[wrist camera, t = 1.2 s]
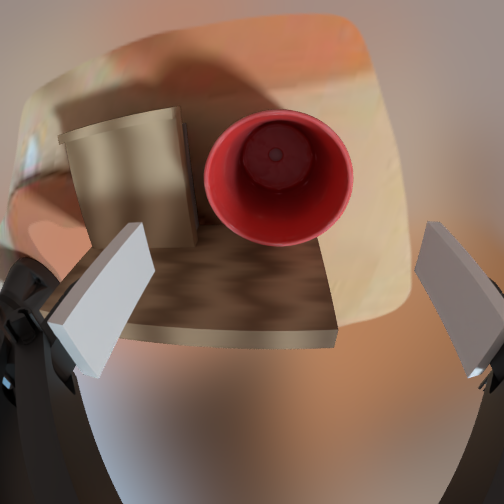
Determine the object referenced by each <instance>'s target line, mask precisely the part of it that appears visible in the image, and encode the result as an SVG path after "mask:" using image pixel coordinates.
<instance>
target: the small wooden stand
mask: <svg viewBox="0 0 504 504" xmlns="http://www.w3.org/2000/svg"><path fill="white" fill-rule="evenodd" d="M58 141H59V145H60V144H63V143H65V146H66V151H67V156H68V161H69V165H70V170H71V174H72V179H73V183H74V187H75V191H76V194H77V198H78V202H79V205H80V209H81V212H82V216H83V219H84V222H85V226H86V229H87V232H88V235H89V238H90V241H91V244H92V247H93V249H105V248H106V247H107V246H108V245H109V243H110V242H111V241H112V240H113V239H114V238H115V237H116V236H117V235H118V233H119V232H120V231H121V230H122V229H123V228H124V227H125V226H126V225H127V224H128V223H135V222H142V224H143V228H144V232H145V236H146V240H147V244H148V247H149V248H180V247H195V245H196V243H197V241H198V237H197V229H198V227H199V221H198V214H197V207H196V200H195V193H194V186H193V178H192V171H191V163H190V154H189V146H188V137H187V128H186V123H183V124H182V119H181V109H180V106H176V107H170V108H164V109H158V110H153V111H147V112H142V113H138V114H133V115H128V116H124V117H120V118H115V119H111V120H107V121H104V122H100V123H96V124H93V125H89V126H86V127H82V128H79V129H76V130H72V131H69V132H67V133H64V134H61V135H58Z"/></svg>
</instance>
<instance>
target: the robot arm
mask: <svg viewBox="0 0 504 504" xmlns="http://www.w3.org/2000/svg"><path fill="white" fill-rule="evenodd" d="M414 271H415V273H416V274H417V276H418V278H419V279H420V281H421V283H422V285H423V286H424V288H425V290H426V292H427V294H428V295H429V297H430V299H431V301H432V303H433V305H434V306H435V308H436V310H437V312H438V314H439V316H440V318H441V320H442V322H443V324H444V326H445V328H446V330H447V332H448V334H449V336H450V338H451V341H452V343H453V345H454V347H455V349H456V351H457V354H458V356H459V358H460V361H461V363H462V365H463V368H464V370H465V373H466V375H467V378H470V377H473V376H477V375H480V374H482V373H483V372H484V370H485V369H486V368H487V366H488V365H489V364H490V365H491V367H492V371H491V372H490V373H489V374H488V376H487V377H486V378H485V379H484V380H483V382H482V383H481V384H480V386H479V389H481V388H482V387H483V385H484V384H486V387H485V389H484V390H483V391H484V395H483V399H482V402H481V405H480V409H479V412H478V415H477V418H476V421H475V425H474V427H473V430H472V433H471V436H470V438H469V441H468V443H467V446H466V448H465V451H464V453H463V456H462V458H461V460H460V463H459V465H458V467H457V469H456V471H455V474H454V476H453V478H452V480H451V482H450V484H449V485H448V487H447V489H446V491H445V493H444V495H443V497H442V498H441V500H440V502H439V504H504V294H502V291H501V290H500V288H499V287H498V285H497V284H496V283H495V282H494V281H492V280H491V279H490V278H489V277H487V275H486V274H485V273H484V272H483V270H482V269H481V268H480V267H479V265H478V264H477V263H476V262H475V261H474V259H473V258H472V257H471V256H470V255H469V253H468V252H467V251H466V250H465V249H464V248H463V246H462V245H461V244H460V243H459V242H458V241H457V240H456V239H455V238H454V236H453V235H452V234H451V233H450V232H449V231H448V230H447V229H446V228H445V227H444V226H443V225H442V224H441V223H440V222H430V221H428V222H427V225H426V229H425V233H424V237H423V241H422V245H421V249H420V253H419V256H418V260H417V263H416V266H415V270H414ZM154 272H155V269H154V266H153V262H152V258H151V255H150V251H149V247H148V244H147V240H146V236H145V232H144V228H143V224H142V222H135V223H128V224H127V225H126V226H125V227H124V228H123V229H122V230H121V231H120V232H119V233H118V235H117V236H116V237H115V238H114V239H113V240H112V241H111V242H110V243H109V245H108V246H107V247H106V248H105V249H104V250H103V251H102V253H101V254H100V255H99V256H98V257H97V258H96V260H95V261H94V262H93V263H92V264H91V265H90V267H89V268H88V269H87V270H86V271H85V273H84V274H83V275H82V276H81V278H79V279H77V280H76V281H75V282H73V283H72V284H71V285H70V286H69V287H68V288H67V290H66V291H65V292H64V295H62V296H61V297H60V299H59V300H58V302H57V303H56V304H55V305H54V307H53V308H52V309H51V311H50V312H49V313H48V315H47V316H46V317H45V319H44V317H43V316H42V314H41V312H40V311H39V310H40V308H41V307H42V306H43V304H44V303H45V302H46V300H47V299H48V298H49V297H50V295H51V294H52V293H53V292H54V290H55V289H56V288H57V287H58V285H59V284H60V283H59V282H58V280H57V279H56V278H55V277H54V275H53V274H52V273H51V272H50V271H49V270H48V269H46V268H45V267H44V266H43V265H41V264H40V263H39V262H37V261H35V260H33V259H30V258H21V259H19V260H18V261H17V262H16V263H15V264H14V265H13V266H12V267H11V269H10V271H9V273H8V275H7V278H6V280H5V282H4V285H3V287H2V289H1V292H0V504H123V503H122V501H121V499H120V497H119V495H118V493H117V491H116V489H115V487H114V485H113V483H112V481H111V478H110V476H109V474H108V472H107V469H106V467H105V465H104V462H103V460H102V457H101V455H100V452H99V450H98V447H97V445H96V442H95V439H94V436H93V433H92V430H91V427H90V424H89V421H88V418H87V415H86V411H85V408H84V405H83V401H82V397H81V393H80V390H79V386H78V382H77V377H76V376H75V373H74V372H73V370H74V368H75V366H76V365H77V367H78V368H79V369H80V371H81V372H82V373H83V375H87V376H91V377H94V378H99V377H100V375H101V373H102V371H103V369H104V367H105V365H106V363H107V360H108V358H109V356H110V354H111V352H112V350H113V348H114V346H115V344H116V342H117V340H118V338H119V336H120V334H121V332H122V330H123V329H124V327H125V325H126V323H127V321H128V319H129V317H130V315H131V313H132V311H133V310H134V308H135V306H136V304H137V302H138V300H139V299H140V297H141V295H142V293H143V291H144V290H145V288H146V286H147V284H148V283H149V281H150V279H151V277H152V276H153V274H154Z"/></svg>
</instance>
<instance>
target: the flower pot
mask: <svg viewBox="0 0 504 504" xmlns="http://www.w3.org/2000/svg"><path fill="white" fill-rule="evenodd" d="M204 187H205V192H206V196H207V199H208V201H209V204H210V205H211V207H212V209H213V211H214V212H215V214H216V215H217V217H218V218H219V219H220V220H221V221H222V223H223V224H224V225H226V226H227V227H228V228H229V229H230V230H232V231H233V232H234V233H236V234H237V235H239V236H241V237H243V238H245V239H247V240H249V241H252V242H255V243H258V244H261V245H267V246H291V245H296V244H300V243H304V242H306V241H309V240H311V239H314V238H316V237H318V236H319V235H321V234H323V233H324V232H325V231H327V230H328V229H329V228H330V227H331V226H332V225H333V224H335V222H336V221H337V220H338V219H339V218H340V217H341V215H342V214H343V212H344V210H345V209H346V206H347V204H348V202H349V199H350V197H351V193H352V187H353V168H352V163H351V159H350V156H349V153H348V151H347V149H346V147H345V145H344V144H343V142H342V140H341V139H340V138H339V136H338V135H337V134H336V133H335V132H334V131H333V130H332V129H331V128H330V127H329V126H327V125H326V124H325V123H323V122H322V121H320V120H319V119H317V118H315V117H313V116H310V115H308V114H305V113H302V112H297V111H293V110H284V109H275V110H265V111H261V112H257V113H254V114H251V115H248V116H246V117H244V118H242V119H240V120H238V121H236V122H235V123H233V124H232V125H231V126H229V127H228V128H227V129H226V130H225V131H224V132H223V133H222V134H221V135H220V136H219V137H218V139H217V140H216V141H215V143H214V145H213V146H212V148H211V150H210V152H209V155H208V157H207V160H206V164H205V168H204Z"/></svg>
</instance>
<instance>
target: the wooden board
mask: <svg viewBox="0 0 504 504" xmlns="http://www.w3.org/2000/svg"><path fill="white" fill-rule="evenodd" d="M197 237H198V241H197V243H196V245H195V247H180V248H149V251H150V255H151V258H152V262H153V266H154V269H155V272H154V274H153V276H152V277H151V279H150V281H149V283H148V284H147V286H146V288H145V290H144V291H143V293H142V295H141V297H140V299H139V300H138V302H137V304H136V306H135V308H134V310H133V311H132V313H131V315H130V317H129V319H128V321H127V323H126V325H125V327H124V329H123V330H122V332H121V334H120V336H119V338H122V339H130V340H137V341H146V342H154V343H163V344H174V345H185V346H199V347H215V348H238V349H240V348H241V349H312V348H313V349H314V348H334V345H335V341H336V337H337V333H338V326H337V321H336V316H335V311H334V306H333V302H332V297H331V293H330V288H329V284H328V279H327V275H326V271H325V267H324V263H323V259H322V255H321V251H320V247H319V243H318V239H317V237H316V238H314V239H311V240H309V241H306V242H304V243H300V244H296V245H291V246H267V245H261V244H258V243H255V242H252V241H249V240H247V239H245V238H243V237H241V236H239V235H237V234H236V233H234V232H233V231H232V230H230V229H229V228H228V227H227V226H226V225H199V227H198V229H197ZM103 250H104V249H93V247H91V249H90V250H89V251H88V252H87V253H86V254H85V255H84V256H83V257H82V258H81V260H80V261H79V262H78V263H77V264H76V266H74V268H73V269H72V270H71V271H70V272H69V274H68V275H67V276H66V277H65V278H64V279H63V281H62V282H61V283H60V284H59V285H58V287H57V288H56V289H55V290H54V292H53V293H52V294H51V295H50V297H49V298H48V299H47V300H46V302H45V303H44V304H43V306H42V307H41V308H40V310H39V311H40V312H41V314H42V316H43V317H44V319H45V317H46V316H47V315H48V313H49V312H50V311H51V309H52V308H53V307H54V305H55V304H56V303H57V302H58V300H59V299H60V297H61V296H62V295H64V292H65V291H66V290H67V288H68V287H69V286H70V285H71V284H72V283H73V282H75V281H76V280H77V279H79V278H81V276H82V275H83V274H84V273H85V271H86V270H87V269H88V268H89V267H90V265H91V264H92V263H93V262H94V261H95V260H96V258H97V257H98V256H99V255H100V254H101V253H102V251H103Z"/></svg>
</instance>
